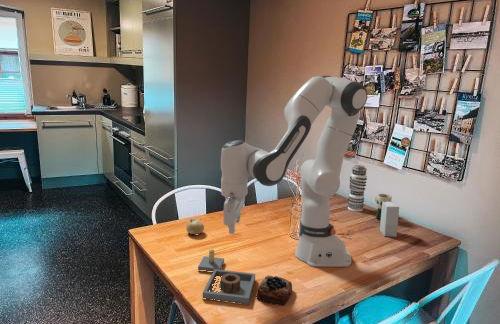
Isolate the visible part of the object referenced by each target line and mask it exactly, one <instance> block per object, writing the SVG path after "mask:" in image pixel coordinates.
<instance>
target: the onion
mask: <svg viewBox="0 0 500 324" xmlns="http://www.w3.org/2000/svg"><path fill="white" fill-rule="evenodd" d="M204 230H205V225H204V223H203V222H202V221H201V220H199V219H196V218H191V219H190V220H189V221H188V223H187V224H186V231H187V233H188V234H189V233H190V234H189V235H192V234H199V235H201V234H202V233H203V232H204ZM200 233H201V234H200Z"/></svg>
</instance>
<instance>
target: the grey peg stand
mask: <svg viewBox="0 0 500 324" xmlns="http://www.w3.org/2000/svg"><path fill="white" fill-rule="evenodd" d="M223 263H224V264H225V258H223V257H215V249H211V248H210V249H209V250H208V256H207V255H206V256H203V258H202V259H201V260H200V263H199V264H198V266H197V271H198V270H206V271H214V269H217V270H222V269H221V267H222V265H223V266H224V264H223ZM222 268H223V267H222Z"/></svg>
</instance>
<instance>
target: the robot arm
mask: <svg viewBox="0 0 500 324" xmlns="http://www.w3.org/2000/svg"><path fill="white" fill-rule="evenodd" d="M288 100H289V101H288V102H287V103H286V105H285V107H284V108H283V109H284V110H283V115H284V119H285V122H286V123H287V130H286V132H285V133H284V135H283V137H282V138H281V139H280V140H279V142H278V144H277V145H276V147H275V148H274V149H273V150H271V151H270V152H268V151H266V150H265V149H262V148H260V147H256V146H252V145H250V144H248V143H247V142H245V140H243V139H237V140H236V139H235V140H230V141H228V142H226V143H224V144H223V146H222V148H221V154H220V170H221V179H220V189H221V191H220V194H221V196H223V197H224V199H225V201H224V203H223V213H222V214H223V219H222V220H223V225H224V226H228V233H229V234H230V235H234V234H235V233H236V227H235V225H236V224H239V223H240V221H241V214H242V210H243V208H244V206H245V201H246V200H245V199H246V196H247V195H248V179H249V178H251V177H253V178H255V180H257V181H258V182H259V184H261V185H262V186H265V187H273V186H275V185H278V184H279V183H280V182H282V181H283V179H284V177H285V176H286V173H287V171H288V170H287V169H288V168H289V164H290V163H291V161H292V159H293V158H294V156H296V154H297V152H298V150H299V149H300V147H302V145H303V143H304V141H305V140H306V138H307V137H308V135H309V133H310V131H311V128H312V125H313V123H314V122H315V121H316V119H317V118H318V116H319V115H320V114H321V112H322V111H323V110H324V109H325V107H329V108H331V112H330V114H329V116H328V118H327V120H326V122H325V124H324V127H323V129H322V132H321V135H320V137H319V138H318V141H317V144H316V154H315V158H313V159H312V158H311V159H307V160H305V161H304V162H303V163H302V164H301V166H300V170H299V172H300V182H301V183H300V184H301V186H300V187H301V188H300V189H301V200H302V202H301V203H302V205H301V220H300V223H299V230H298V233H299V239H298V243H297V245H296V248H295V252H294V254H295V256H296V258H297V259H298V260H300V261H302V262H304V263H307V264H308V265H309V266H310V267H324V268H325V267H330V268H331V267H332V268H333V267H339V268H343V267H345V268H348V267H350V266H351V264H352V256H351V253H350V252H349V251H348V250H347V247H346V244H345V243H344V240H342V239H341V237H339V236H338V235H337V234H336V233H337V232H336V229H335V227H334V225H333V223H332V222H331V223H330V215H331V201H330V197H331V196H333V195H335V194H336V193H337V192H338V191H339V189H340V186H341V181H340V179H341V178H340V177H341V176H340V175H341V172H342V166H343V162H344V159H345V155H346V152H347V150H348V147H349V145H350V143H351V140H352V138H353V136H354V133H355V131H356V129H357V124H358V122H359V117H360V111H361V110H362V109H363V108H364V107H365V105H366V103H367V101H368V90H367V87H366V86H365V85H364V84H362V83H361V82H358V81H354V80H350V79H348V78H345V77H336V76H331V75H322V76H320V75H319V76H318V75H317V76H313V77H311V78H309V80H307V81H306V82H305V83H303V84H302V86H300V88H299V89H298V90H296V92H295V93H294V94H293V96H291V98H290V99H288Z"/></svg>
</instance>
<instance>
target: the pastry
mask: <svg viewBox="0 0 500 324" xmlns="http://www.w3.org/2000/svg"><path fill="white" fill-rule="evenodd" d="M292 291H293V284H292V282H291V281H290V280H288V279H287V278H284V277H281V276H277V275H275V276H273V275H266V276H265V277H264V278H263V279H262V280H261V282H260V283H259V285H258V287H257V293H256V296H255V298H256V297H257V298H256V300H257V299H258V301H260V300H261V301H260V302H263V301H264V302H263V303H266V302H267V304H270V303H272V304H271V305H275V304H278V305H277V306H285V305H286V304H287V302H288V300H289V298H290V296H291V293H292Z"/></svg>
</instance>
